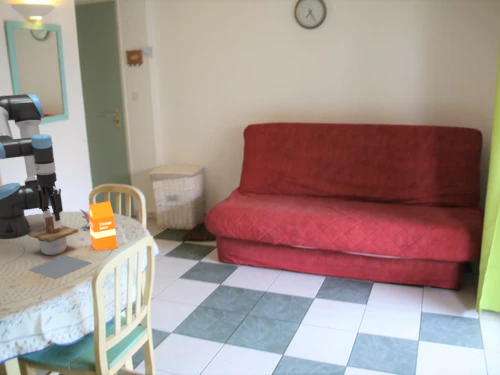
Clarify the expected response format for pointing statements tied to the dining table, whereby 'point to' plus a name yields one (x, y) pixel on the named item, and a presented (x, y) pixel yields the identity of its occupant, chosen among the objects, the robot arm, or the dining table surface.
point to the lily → (85, 217)
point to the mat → (60, 266)
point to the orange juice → (102, 226)
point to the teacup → (53, 246)
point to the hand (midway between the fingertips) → (52, 226)
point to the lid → (52, 231)
